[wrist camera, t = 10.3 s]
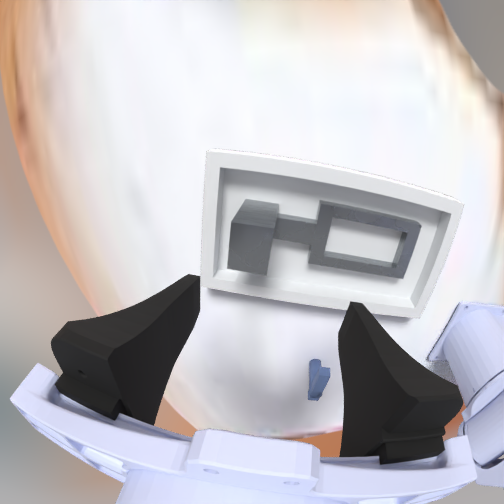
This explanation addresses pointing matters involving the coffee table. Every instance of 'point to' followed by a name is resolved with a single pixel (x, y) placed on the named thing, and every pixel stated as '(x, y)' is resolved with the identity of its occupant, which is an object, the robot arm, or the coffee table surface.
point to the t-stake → (317, 379)
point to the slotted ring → (313, 237)
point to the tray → (339, 239)
